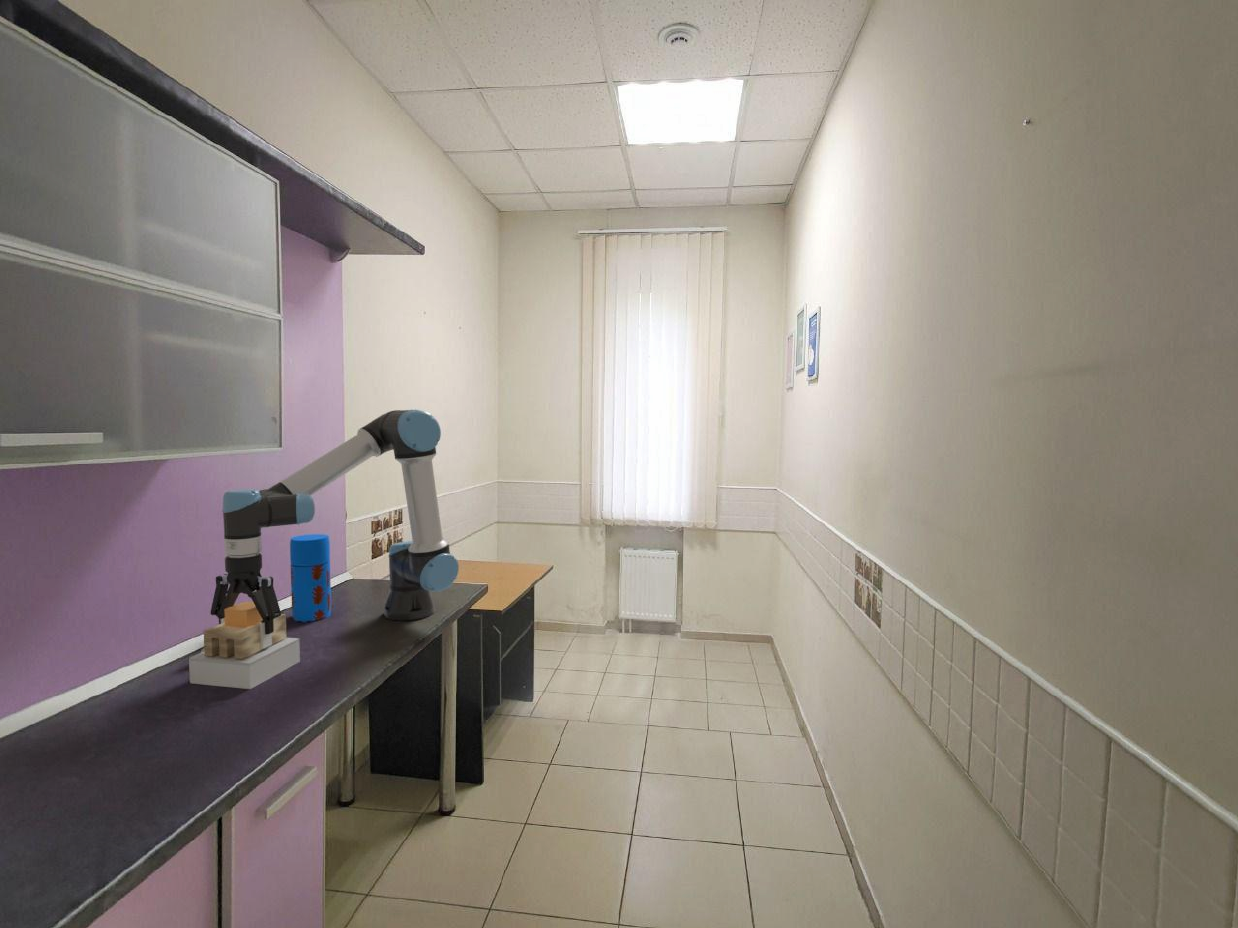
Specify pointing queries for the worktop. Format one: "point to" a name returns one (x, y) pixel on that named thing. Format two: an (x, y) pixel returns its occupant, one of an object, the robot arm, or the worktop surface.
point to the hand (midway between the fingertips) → (246, 645)
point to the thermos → (310, 577)
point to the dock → (244, 666)
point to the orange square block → (242, 615)
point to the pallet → (240, 639)
